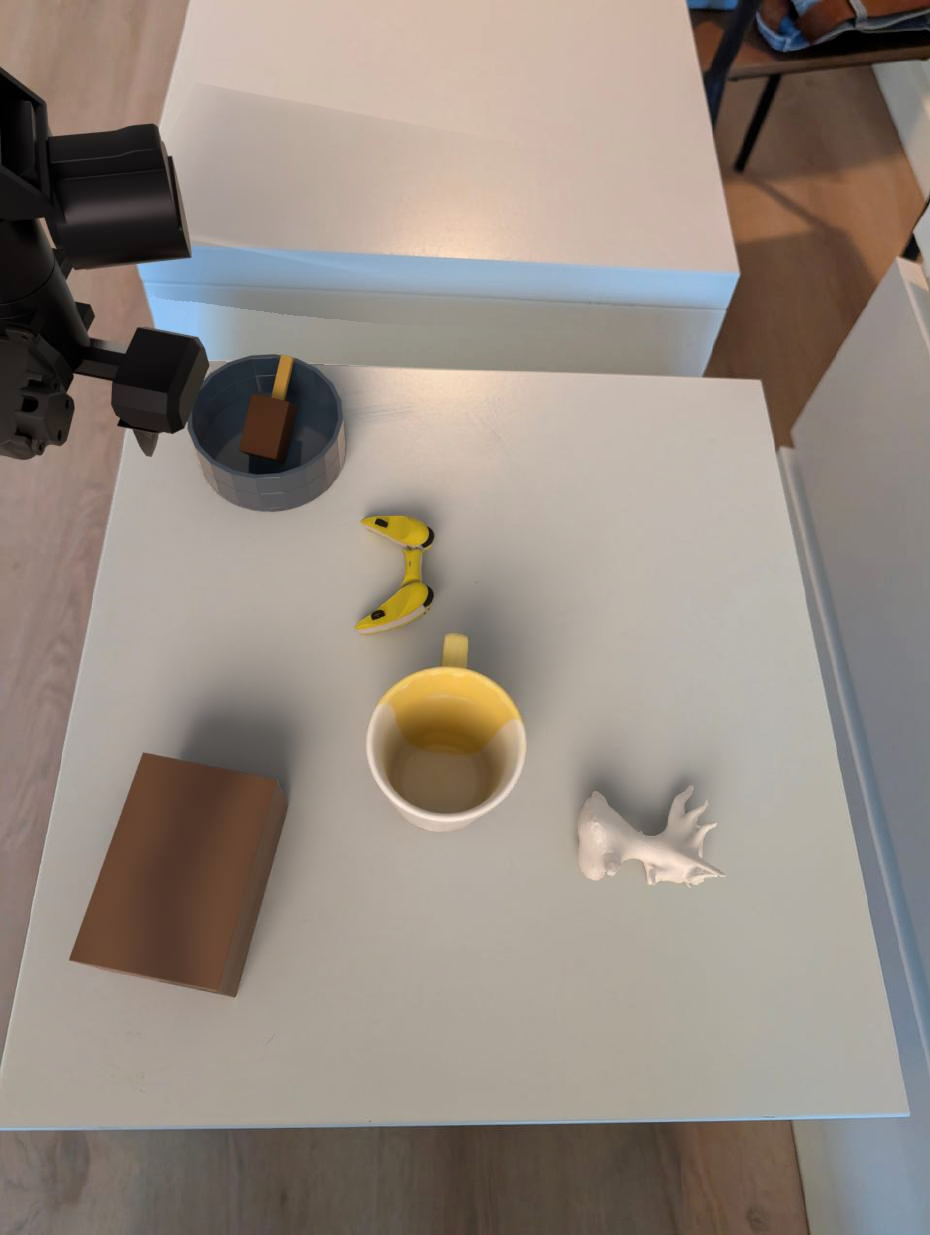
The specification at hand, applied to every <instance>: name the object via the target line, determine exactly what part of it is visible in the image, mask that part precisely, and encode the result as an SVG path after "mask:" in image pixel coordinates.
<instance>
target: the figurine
mask: <svg viewBox="0 0 930 1235" xmlns="http://www.w3.org/2000/svg"><path fill="white" fill-rule="evenodd" d="M693 792H694V786H693V784H690V785H689V786H687V787H686V789H685V790H684V791H683V792H680V793H678V794H677V795H676V796H675V797H674V798H673V801H672V803H671V806H670V810H669V813H668V818H667V825H666V827H665V829H664V830H663V831H662V832H660V833H659V834H656V835H647V834H644V833H643V831H642V830H639V831H637V830H635V828H633V827H632V826H631V825H630V824H629V823H628V822H627V821H626V820H625V819H624V817H622V816H621V815H620V814H619V813H618V812H617V811H616V810H615V809H613V808H612V807H611V806H610V805H609V803H608V800H607V799H606V797H605V796H604V795H603V794H601V793H600V792H599V791H597V790H593V791H592V792H591V797H589V798H587V799H586V800H585V803H584V804H583V806H582V809H581V810H580V813H579V816H578V820H577V835H578V839H579V841H578V847H577V848H578V849H577V862H578V865H579V869H580V871H581V872H582V874H583V875H584V876H585V877H586V878H588V879H589V880H592V881H599V880H602V878H604V876H606V874H607V875H608V876H610V877H615V875H616V874H617V872H619V870H620V869H621V866H622V863H624V862H626V861H628V860H634V859H635V860H638V861H641V862H642V863H643V865H644V866H643V867H644V869H645V870H644V871H645V879H646V883H647V885H649V886H655V885H656V884H657V883H659V882H660V881H663V882H672V883H676V884H681V883H685V885H686V886H687V887H688V888H689V889H693V888H692V886H691V885H693V886H698V885H699V884H701V883H703V882H705V879H707V878H718V877H720V878H725V877H727V876H726V874H725V873H724V872H723V871H722V870H720V869H719V868H717V867H716V866H714V865H713V864H710V863H709V862H708V861H706V860H704V856H703V855H704V840H705V837H706V835H707V833H708V831H710V830H711V829H713V828H716V827H717V825H718V823H717V822H713V821H711V822H707V823H705V824H702V825H699V824H697V823H698V822H697V821H698V819H699V817H700V816H701V815H702V814H703V813H704V812H705V811H706V809H707V808H708V806H709V800H708V798H707V799H705V801H704V802H703V803H702V804H701V805H699V806H698V807H696V808H693V809H691V810H689V811H688V812H685V810H686V809H685V804H686V802H687V800H689V798H691V797H692V794H693ZM704 871H707V872H704ZM690 884H691V885H690Z"/></svg>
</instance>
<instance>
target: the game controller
mask: <svg viewBox="0 0 930 1235" xmlns="http://www.w3.org/2000/svg"><path fill="white" fill-rule="evenodd" d="M359 523H360V524H361V525H362V526H363V527H364V529H365V530H367V531H369V532H370V533H373V534H376V535H379V536H380V537H382V538H385V539H387V540H388V541H390V542H392V543H394V544H396V545H398V546H400V547H402V552H403V557H404V563H405V564H404V574H403V580H402V582H401V588H400V589H399V590H397V591H396V593H395V594H393V595H392V596H390V597H389V598H388V599H387V600H386V601H385V602H383V603H382V604H381V605H380V606H378V607H377V608H376V609H375V610H373V611H372V612H371V613H370V614H369V615H367V616H366V617H365V618H363V619H361V620H359V622H358V623H356V624H355V626H354V630H355V631H356V632H357V633H358V634H359V635H363V636H365V635H372V634H374V635H375V634H378V633H379V634H380V633H384V632H388V631H392V630H394V629H397V628H400V627H403V626H406V625H408V624H410V623H412V622H414V621H416V620H417V619H419V618H420V617H422V616H423V615H426V614H427V612H428V611H429V610H430V609H431V606H432V604H433V601H434V598H435V592H434V590H433V588H432V587H431V586H429V585H428V584H424V583H423V575H422V566H423V564H422V563H423V552H428V551H429V550H430V549H431V548H432V546H434V540H435V536H436V535H435V531H434V530H433V529H432V528H431V527H430V526H428V525H426V524H425V523H424V522H423V521H422V520H419V519H417V518H414V517H411V516H406V515H376V516H370V517H365V518H362V519H361V520H359Z"/></svg>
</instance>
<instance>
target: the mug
mask: <svg viewBox="0 0 930 1235" xmlns="http://www.w3.org/2000/svg"><path fill="white" fill-rule="evenodd" d="M442 643H443V644H442V649H441V658H440V663H439V664H440V665H439V666H432V667H428V668H423V669H420V670H418V671H417V670H416V671H414V672H411V673H410V674H408V675H406V676H404V677H403V678H401V679H400V680H398V681H397V682H395V683H394V684H393V685H392V686H390V687H389V688H388V689H387V691H385V692H384V694H383V695H382V696H381V697H380V698H379V700H378V701H377V703H376V704H375V706H374V708H373V710H372V712H371V715H370V718H369V720H368V724H367V728H366V733H365V734H366V735H365V752H366V753H365V754H366V758H367V762H368V767H369V769H370V772H371V774H372V777H373V778H374V780H375V782H376V784H377V786H378V787H379V789H380V790H381V792H382V793H383V795H384V796H385V797H386V798H387V800H388V801H389V802H390V803H391V805H392V806H393V808H395V810H396V811H397V813H399V815H400V816H401V817H403V819H405V820H406V821H407V822H408V823H410V824H412V825H414V826H415V827H418V828H420V829H422V830H425V831H429V832H436V833H443V832H444V833H446V832H452V831H457V830H460V829H462V828H464V827H467V826H468V825H470V824H472V823H473V822H474V821H476V820H477V819H479V818H481V817H482V816H484V815H486V814H487V813H489V812H491V811H492V810H493V809H494V808H496V807H497V806H498V805H499V804H501V803H502V802H503V801H504V800H505V799H506V798H507V796H508V795H509V794H510V793H511V792H512V790H513V789H514V788H515V786H516V785H517V782H518V781H519V779H520V777H521V776H522V775H521V774H522V772H523V770H524V767H525V763H526V759H527V753H528V752H527V751H528V736H527V730H526V726H525V721H524V719H523V716H522V713H521V712H520V709H519V708H518V706H517V704H516V702H515V701H514V699H513V698H512V696H510V695H509V693H508V692H507V691H506V690H505V689H504V688H503V687H502V686H501V685H500V684H498V683H497V682H495V681H494V680H493V679H491V678H490V677H489V676H487V675H484V674H483V673H481V672H478V671H476V670H473V669H469V668H467V666H468V655H469V637H468V636H467V635H464V634H462V633H457V632H450V633H447V634H445V635H444V637H443V642H442Z"/></svg>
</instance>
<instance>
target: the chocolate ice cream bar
mask: <svg viewBox="0 0 930 1235" xmlns="http://www.w3.org/2000/svg"><path fill="white" fill-rule="evenodd" d="M280 355H281V357H280V362H279V366H278V371H277V375H276V379H275V384H274V388H273V392H272V397H267V396H263V395H259V394H255V393H252V394H251V398H250V403H249V407H248V412H247V416H246V420H245V425H244V429H243V433H242V438H241V442H240V447H239V451H241V452H243V453H245V454H247V455H249V456H253V457H257V458H261V459H266V460H270V461H274V462H278V463H282V464H285V461H286V456H287V452H288V448H289V443H290V439H291V435H292V430H293V426H294V422H295V417H296V413H297V408H296V407H295V406H293V405H292V404H291V403H290V402H288V401H285V397H286V393H287V388H288V384H289V380H290V375H291V371H292V367H293V362H294V358H295V357H293V356H290V355H284V354H280Z"/></svg>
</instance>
